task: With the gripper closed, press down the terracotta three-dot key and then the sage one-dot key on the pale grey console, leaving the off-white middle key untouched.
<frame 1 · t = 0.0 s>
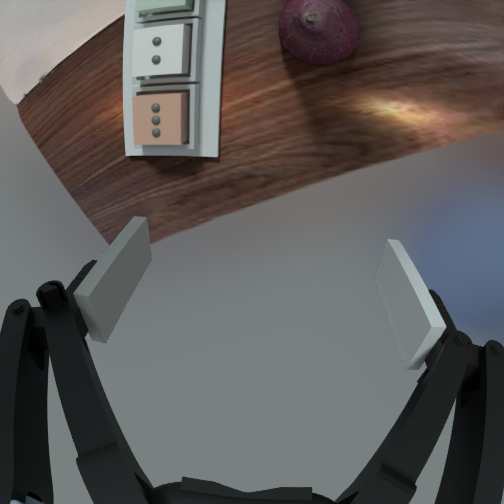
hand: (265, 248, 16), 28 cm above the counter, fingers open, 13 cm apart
vegetable: (317, 30, 31), on the counter
console: (172, 52, 33), on the counter
key three: (159, 118, 35), point 4 cm above the counter, slide at 0.0 cm
key two: (160, 50, 30), point 4 cm above the counter, slide at 0.0 cm
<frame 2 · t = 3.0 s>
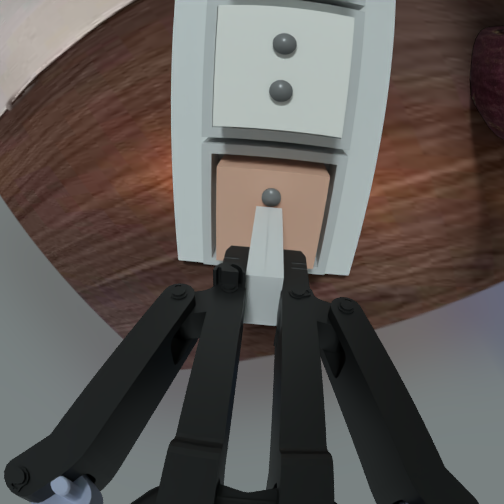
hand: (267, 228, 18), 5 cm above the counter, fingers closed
console: (281, 69, 17), on the counter
key three: (269, 211, 20), point 3 cm above the counter, slide at 1.4 cm, touching gripper
key two: (282, 67, 13), point 4 cm above the counter, slide at 0.0 cm
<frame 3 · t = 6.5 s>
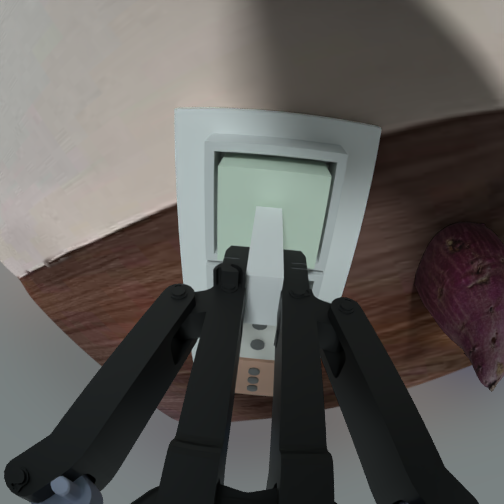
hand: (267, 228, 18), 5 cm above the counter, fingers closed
vegetable: (458, 264, 25), on the counter
console: (262, 285, 27), on the counter
key three: (254, 368, 30), point 3 cm above the counter, slide at 1.6 cm
key one: (270, 211, 20), point 3 cm above the counter, slide at 0.9 cm, touching gripper
key two: (259, 320, 24), point 4 cm above the counter, slide at 0.0 cm
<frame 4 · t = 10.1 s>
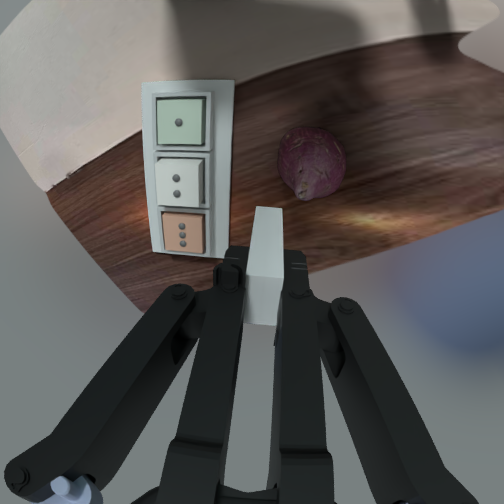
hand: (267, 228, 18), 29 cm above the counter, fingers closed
vegetable: (310, 157, 44), on the counter
console: (187, 173, 47), on the counter
key three: (184, 230, 50), point 3 cm above the counter, slide at 1.6 cm
key one: (181, 120, 40), point 3 cm above the counter, slide at 1.6 cm
key two: (179, 182, 43), point 4 cm above the counter, slide at 0.0 cm
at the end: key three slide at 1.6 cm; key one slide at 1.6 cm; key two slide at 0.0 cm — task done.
